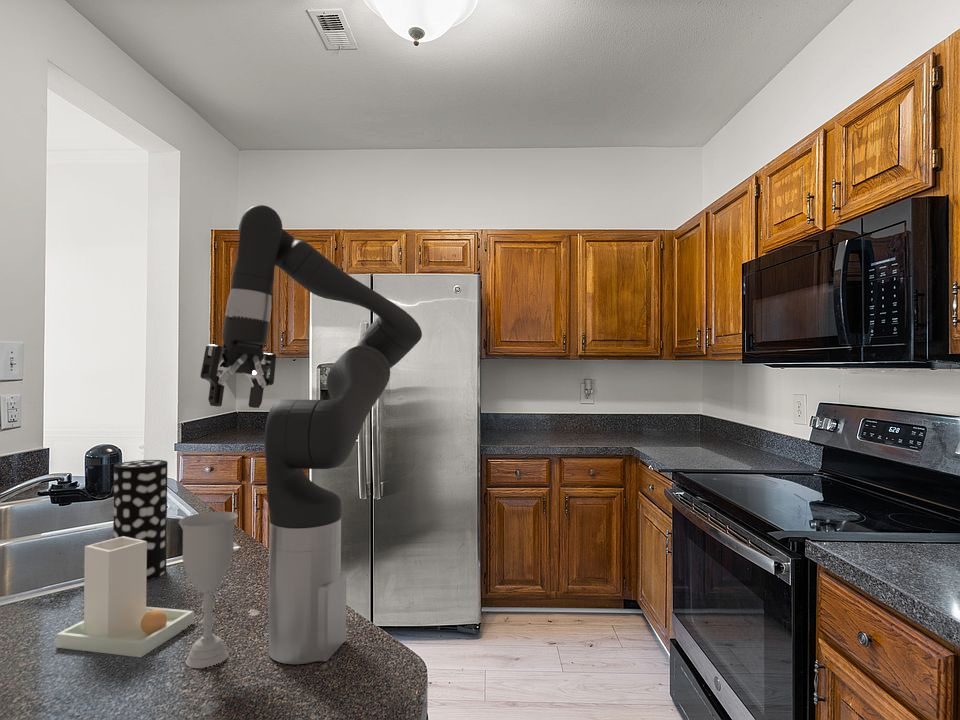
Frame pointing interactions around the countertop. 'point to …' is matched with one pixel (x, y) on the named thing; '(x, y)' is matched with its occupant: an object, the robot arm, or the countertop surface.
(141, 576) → the cup
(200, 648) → the chalice
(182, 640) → the countertop surface
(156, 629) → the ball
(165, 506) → the white-spotted black cylinder
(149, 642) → the tray
